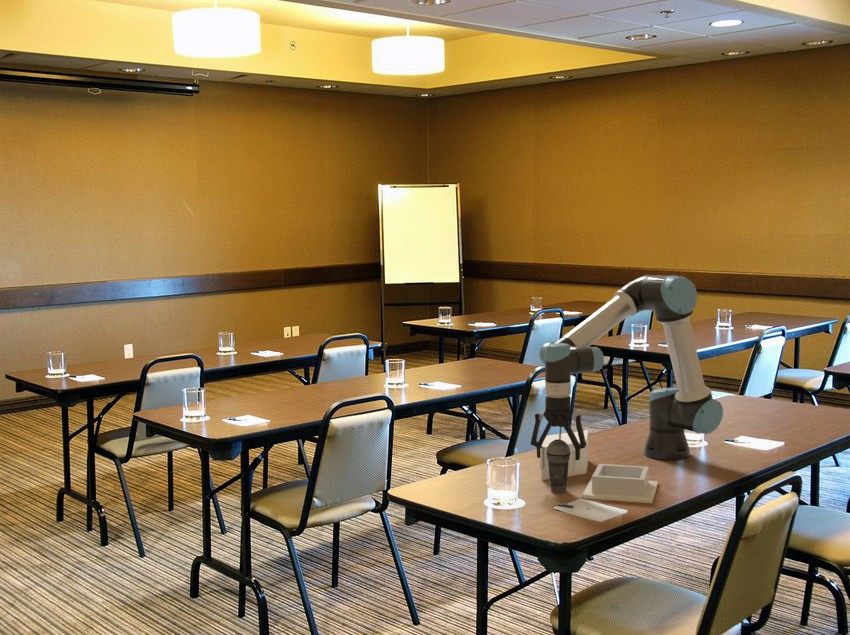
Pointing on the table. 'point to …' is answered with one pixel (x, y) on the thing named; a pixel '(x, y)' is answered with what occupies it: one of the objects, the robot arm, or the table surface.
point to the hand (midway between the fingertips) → (558, 469)
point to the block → (581, 463)
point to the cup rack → (621, 484)
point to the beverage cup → (558, 464)
